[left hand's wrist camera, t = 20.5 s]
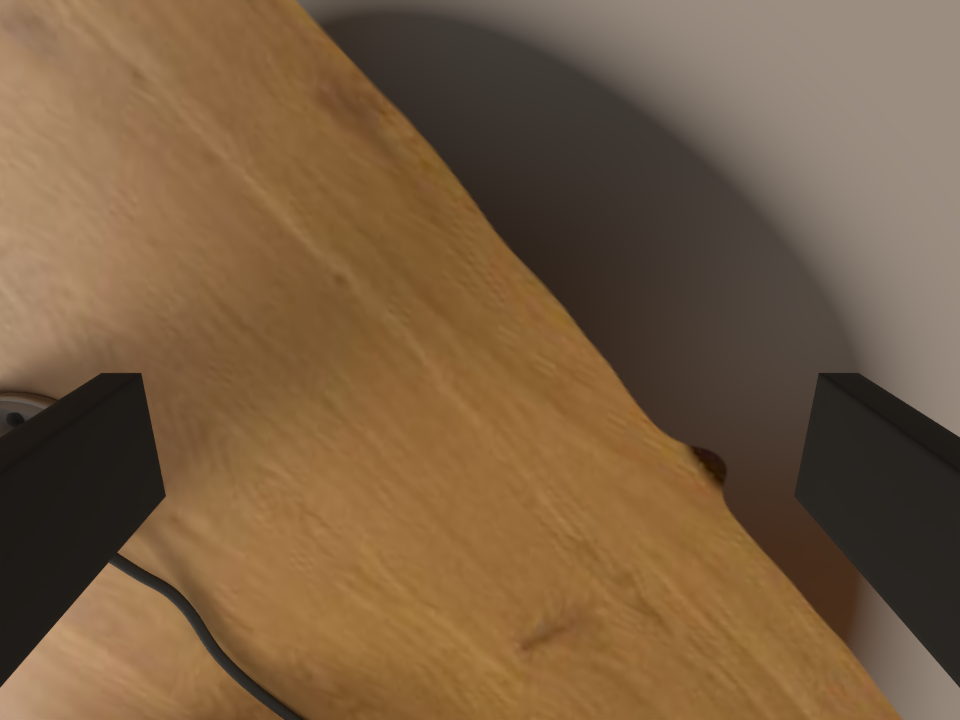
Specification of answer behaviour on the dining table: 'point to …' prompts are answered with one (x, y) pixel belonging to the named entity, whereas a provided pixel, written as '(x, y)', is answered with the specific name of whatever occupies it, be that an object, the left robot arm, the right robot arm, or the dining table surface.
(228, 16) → the dining table surface
